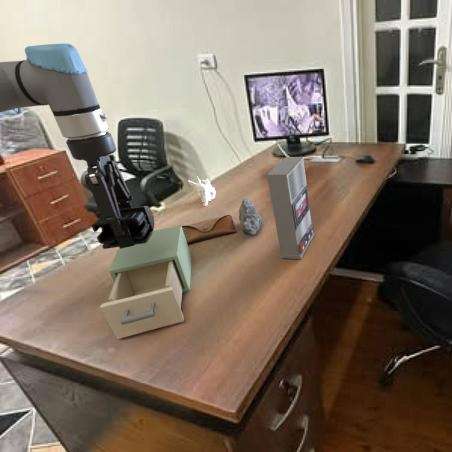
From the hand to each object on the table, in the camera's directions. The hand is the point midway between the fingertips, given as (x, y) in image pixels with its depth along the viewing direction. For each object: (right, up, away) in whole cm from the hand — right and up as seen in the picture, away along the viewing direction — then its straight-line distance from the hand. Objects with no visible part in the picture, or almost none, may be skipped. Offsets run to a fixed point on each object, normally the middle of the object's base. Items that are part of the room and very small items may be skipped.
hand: (130, 237), depth 78 cm
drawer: (+4, -18, +3) cm, 18 cm away
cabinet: (-1, -12, +16) cm, 20 cm away
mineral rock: (+17, +1, +38) cm, 41 cm away
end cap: (0, 0, 0) cm, 1 cm away
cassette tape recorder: (+35, -4, +25) cm, 44 cm away
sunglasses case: (+4, -1, +36) cm, 37 cm away
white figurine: (-6, +13, +62) cm, 64 cm away
